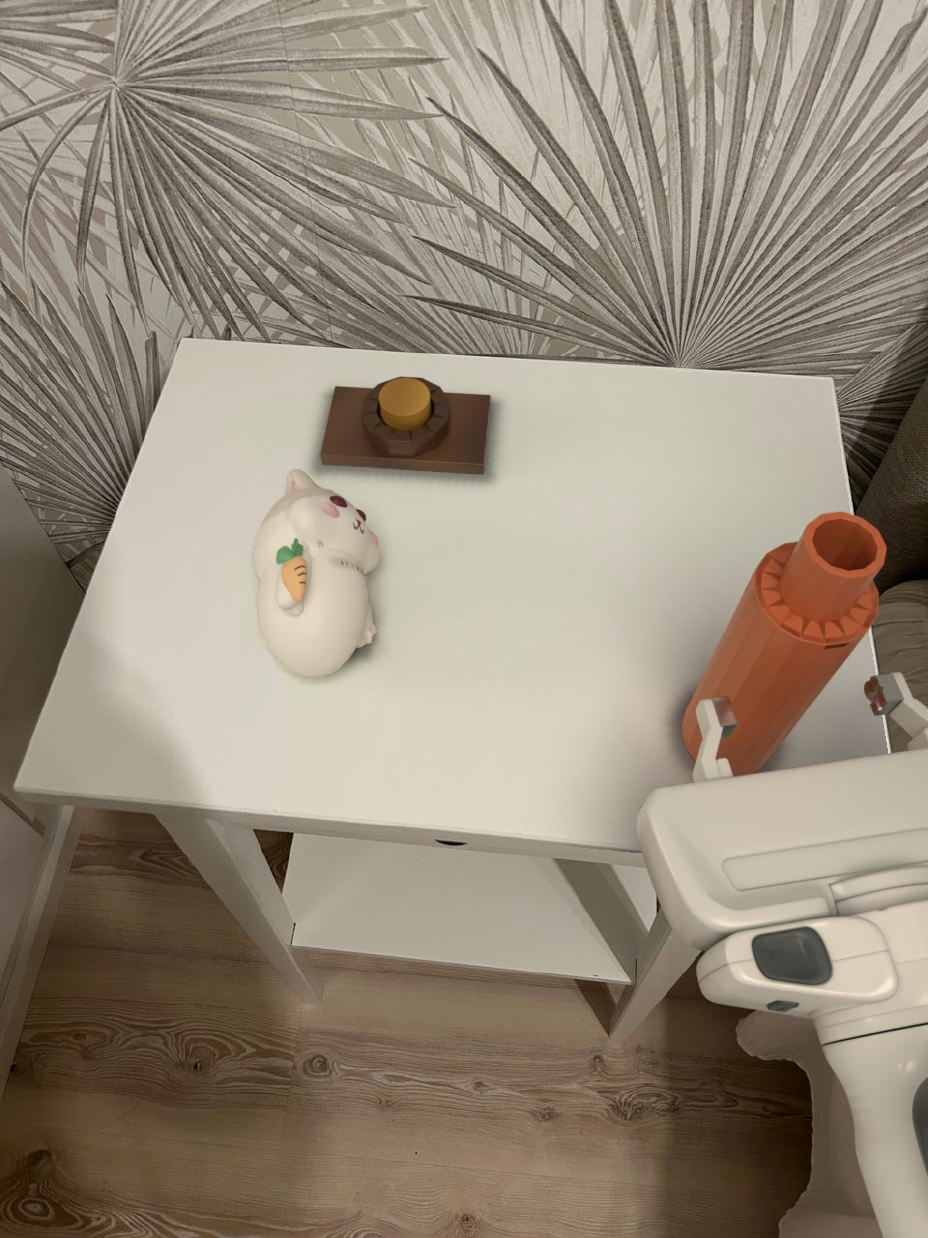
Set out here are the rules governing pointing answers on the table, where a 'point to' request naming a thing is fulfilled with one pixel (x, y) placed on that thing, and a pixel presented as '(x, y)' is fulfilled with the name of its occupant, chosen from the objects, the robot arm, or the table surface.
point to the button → (405, 404)
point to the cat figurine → (314, 578)
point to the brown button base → (407, 432)
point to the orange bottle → (790, 635)
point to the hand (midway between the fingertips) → (796, 689)
